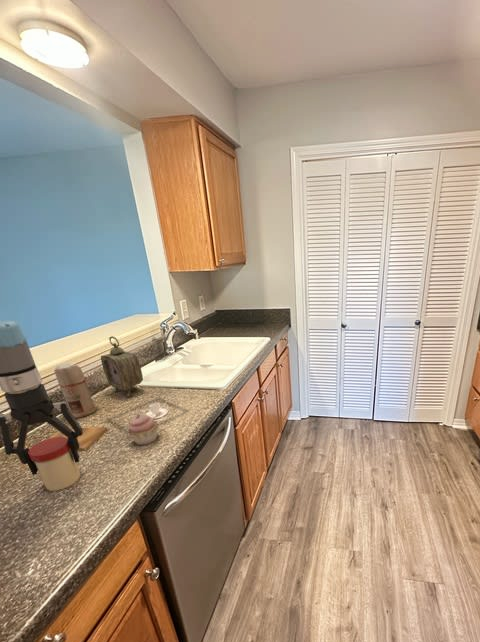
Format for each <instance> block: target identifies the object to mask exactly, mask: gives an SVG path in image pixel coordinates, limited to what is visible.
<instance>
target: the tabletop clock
mask: <svg viewBox="0 0 480 642" xmlns="http://www.w3.org/2000/svg"><path fill="white" fill-rule="evenodd" d="M112 339H114V340H115V341H116V342H114V343H113V342H112ZM108 340H109V343H110V344H111V346H112V348H110V351H109V353H107V354H103V355H100V361H101V365H102V369H103V372H104V375H105V379H106V380H107V382H108V384H109V385H110V386H111V387H112V388H114V390H113V391H114V392H115V393H118V392H119V390H120V391H124V390H126V389H127V393H126V397H127V398H131V397H132V393H131V391H132V392H133V391H135V390H136V387H135V386H137V385H140V384H141V383H142V382H143V381H144V376H143V372H142V367H141V364H140V361H139V359H138V356H137V355H136V354H135V353H132V352H130V351H125V350H124V349H123V347H120V342H119V340H118V338H116V337H115V336H112V335H111V336H110V337H109V338H108Z"/></svg>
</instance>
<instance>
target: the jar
mask: <svg viewBox="0 0 480 642" xmlns="http://www.w3.org/2000/svg"><path fill="white" fill-rule="evenodd" d="M34 463H35V465H36V467H37V469H38V471H37V473H38V474H39V477H40V478H41V480H42V482H43V485H44V486H45V489H46V490H47V491H50V492H51V491H59V490H63V489H65V488H68V487H70V486H72V485H73V484H75V483H76V482H77V481H78V480H79V479H80V477H81V472H80V470H79V468H78V465H77V462H76V463H75V460H74V458H73V455H72V453H71V450H70V449H69V450H68V451H67V452H66V453H64V454H63V455H61V456H59V457H57V458H55V459H52V460H49V461H45V462H34Z"/></svg>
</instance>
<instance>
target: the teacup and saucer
mask: <svg viewBox="0 0 480 642" xmlns="http://www.w3.org/2000/svg"><path fill="white" fill-rule="evenodd" d="M149 409H150V410H149V411H147V412H146V413H145V414H146V415H147V416H150V417H152V418H153V419H154V420H155V419H156V420H157V419H160V418H162V417H165V416H166V415H168V412H169V410H168V409H166V408H161V404H160V403H159V402H154V403H151V404H150V405H149ZM160 413H161V414H160Z"/></svg>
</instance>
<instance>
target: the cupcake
mask: <svg viewBox="0 0 480 642" xmlns="http://www.w3.org/2000/svg"><path fill="white" fill-rule="evenodd" d="M158 429H159V423H158V421H156V420H155V419H153V418H152V417H150V416H147V415H146V413H140V412H139V413H137V414H136V415H135V416H134V417H132V418H131V420H130V423H129V424H128V425H127V430H126V432H127V435H128V436H129V437H131V438H132V440H133V442H135V444H136V445H138V446H147V445H150V444H152V443H153V442H155V441H156V440H157V438H158Z"/></svg>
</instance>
